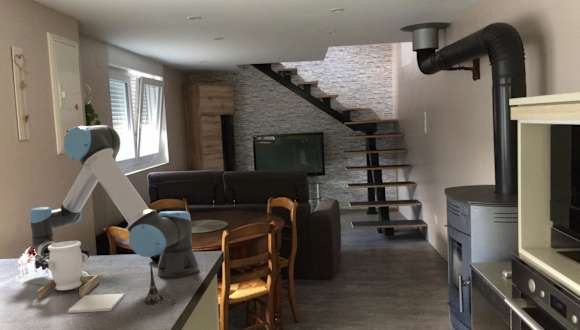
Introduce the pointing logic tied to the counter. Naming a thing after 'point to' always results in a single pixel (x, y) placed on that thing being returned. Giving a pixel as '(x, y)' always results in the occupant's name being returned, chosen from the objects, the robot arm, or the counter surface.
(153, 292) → the eiffel tower figurine
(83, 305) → the ceramic tile
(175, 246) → the robot arm
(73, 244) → the jar
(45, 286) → the oak cradle
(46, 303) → the counter surface
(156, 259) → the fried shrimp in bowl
